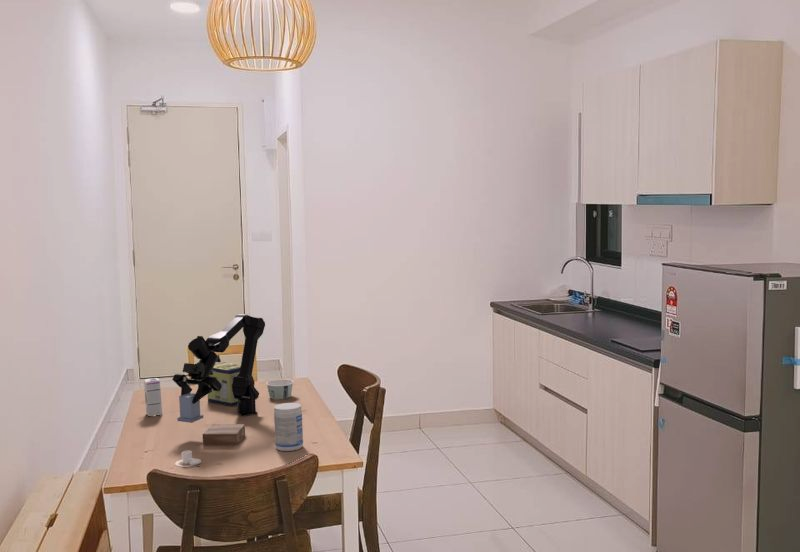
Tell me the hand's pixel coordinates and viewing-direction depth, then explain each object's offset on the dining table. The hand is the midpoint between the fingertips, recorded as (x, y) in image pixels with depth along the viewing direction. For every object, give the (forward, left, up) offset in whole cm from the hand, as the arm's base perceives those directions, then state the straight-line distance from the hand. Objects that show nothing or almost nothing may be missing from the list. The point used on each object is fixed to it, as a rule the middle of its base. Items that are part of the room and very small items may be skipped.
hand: (187, 402), depth 272 cm
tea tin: (-1, -1, -7) cm, 7 cm away
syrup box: (+1, -41, -14) cm, 43 cm away
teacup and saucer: (+10, +27, -14) cm, 33 cm away
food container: (-52, -35, -14) cm, 64 cm away
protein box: (-31, -42, -14) cm, 54 cm away
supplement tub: (-25, +31, -14) cm, 42 cm away
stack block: (-10, +9, -13) cm, 19 cm away
